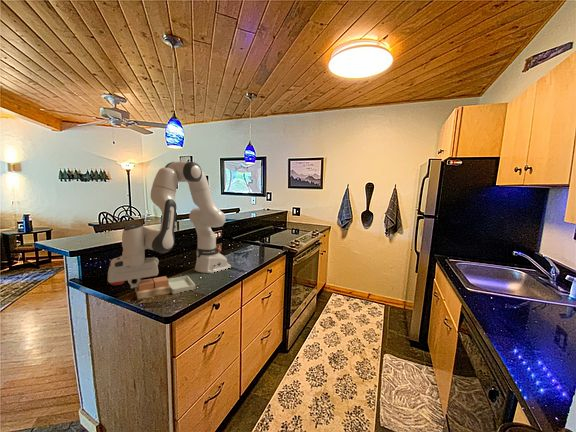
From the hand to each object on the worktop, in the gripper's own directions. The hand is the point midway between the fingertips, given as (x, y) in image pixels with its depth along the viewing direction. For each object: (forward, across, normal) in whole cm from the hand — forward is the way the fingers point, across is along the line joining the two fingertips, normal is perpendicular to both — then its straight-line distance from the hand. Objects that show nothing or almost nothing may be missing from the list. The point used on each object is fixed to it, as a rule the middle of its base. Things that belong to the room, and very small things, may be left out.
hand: (134, 287), depth 115 cm
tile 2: (+1, -11, 0) cm, 11 cm away
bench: (+4, -8, 0) cm, 9 cm away
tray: (+4, -21, 0) cm, 21 cm away
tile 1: (+1, -5, 0) cm, 5 cm away
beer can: (+4, +6, -20) cm, 21 cm away
